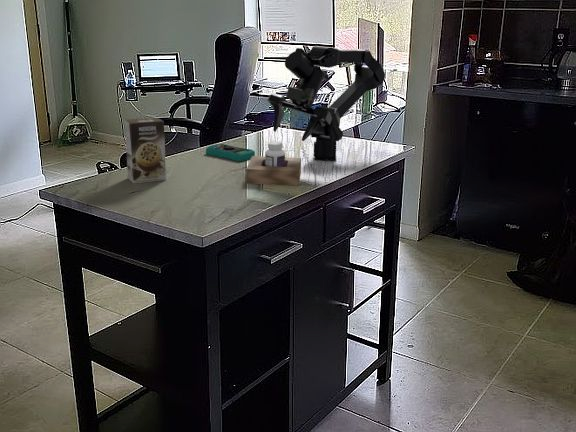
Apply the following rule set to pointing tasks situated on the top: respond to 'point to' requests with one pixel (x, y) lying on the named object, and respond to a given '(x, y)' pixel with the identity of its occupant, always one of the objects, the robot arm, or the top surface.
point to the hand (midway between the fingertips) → (288, 135)
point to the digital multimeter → (230, 152)
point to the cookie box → (145, 150)
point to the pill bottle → (275, 154)
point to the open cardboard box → (273, 172)
